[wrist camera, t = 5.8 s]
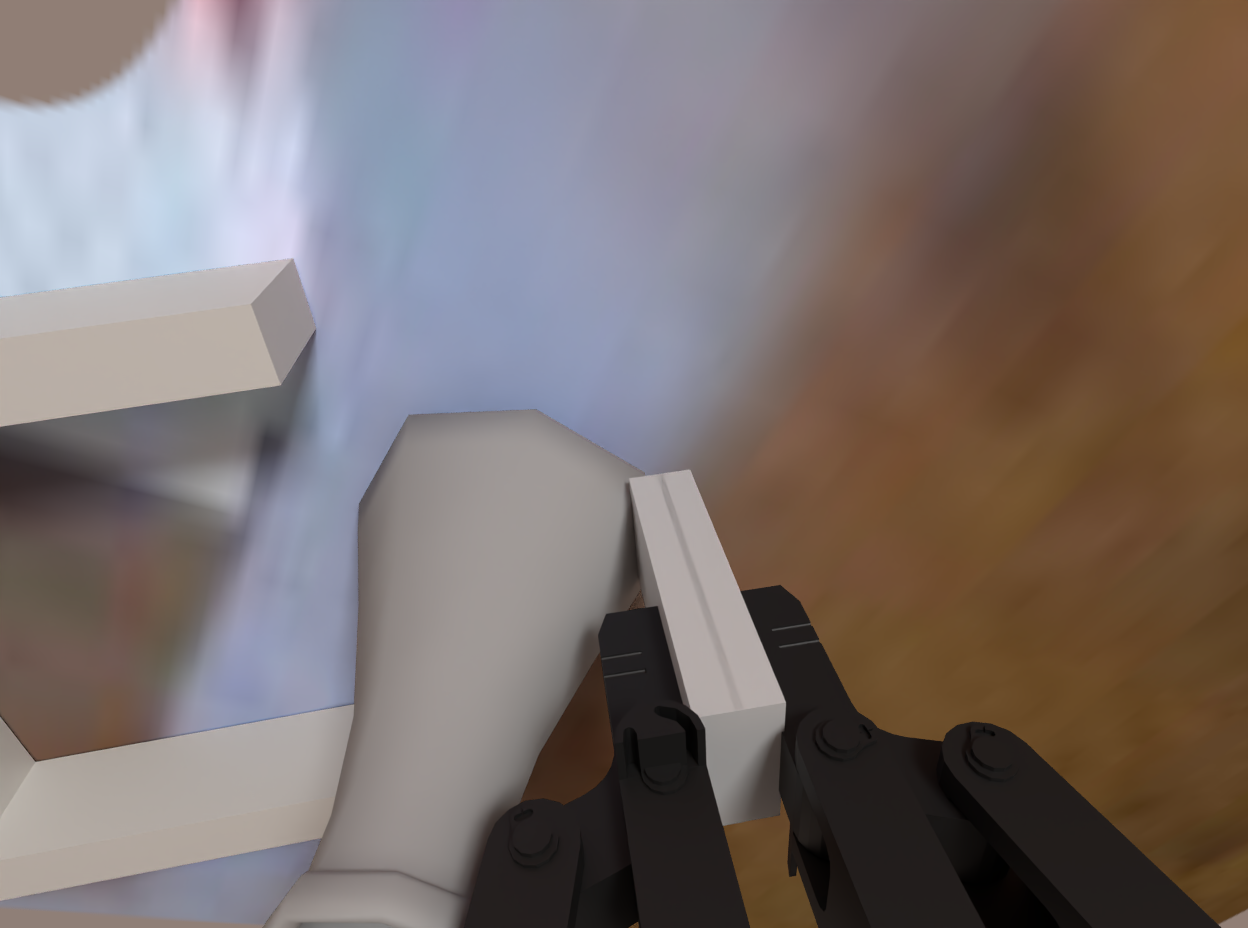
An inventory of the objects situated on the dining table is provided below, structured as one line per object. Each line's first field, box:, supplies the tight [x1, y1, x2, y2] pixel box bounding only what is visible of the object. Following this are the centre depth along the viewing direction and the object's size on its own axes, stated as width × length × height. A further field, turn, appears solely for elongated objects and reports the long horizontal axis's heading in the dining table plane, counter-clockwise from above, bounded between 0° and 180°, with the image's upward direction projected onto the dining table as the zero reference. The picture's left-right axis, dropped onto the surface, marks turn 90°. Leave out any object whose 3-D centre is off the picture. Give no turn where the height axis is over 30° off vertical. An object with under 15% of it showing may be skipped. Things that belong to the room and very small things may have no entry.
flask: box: [262, 409, 645, 928], centre depth 14 cm, size 7×7×10 cm
